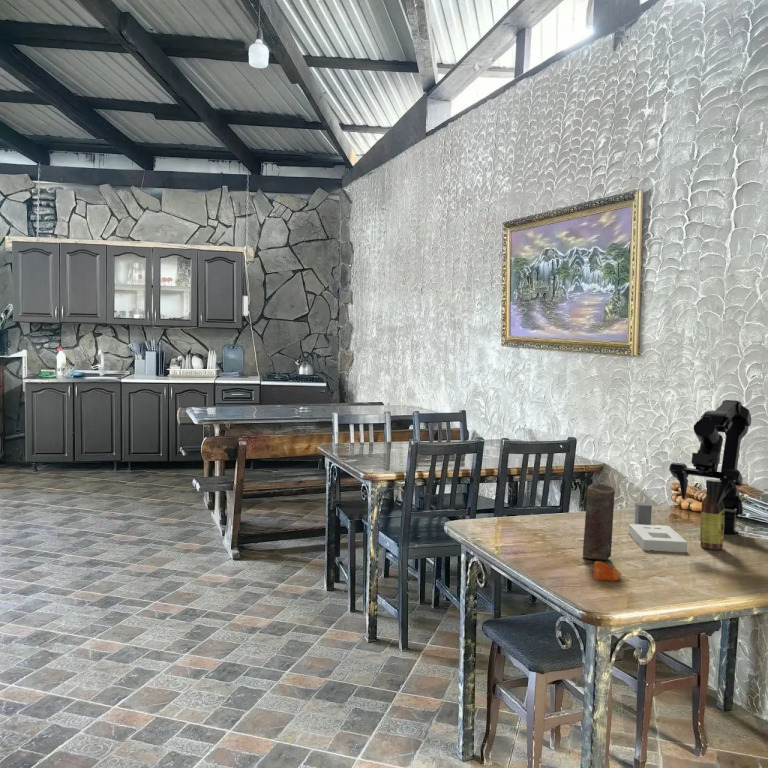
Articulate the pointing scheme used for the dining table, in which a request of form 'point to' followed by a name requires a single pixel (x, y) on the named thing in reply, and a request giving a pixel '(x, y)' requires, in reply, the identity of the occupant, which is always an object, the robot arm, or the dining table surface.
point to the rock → (605, 572)
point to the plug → (643, 513)
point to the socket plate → (657, 538)
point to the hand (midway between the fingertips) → (699, 501)
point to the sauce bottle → (712, 518)
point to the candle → (598, 522)
